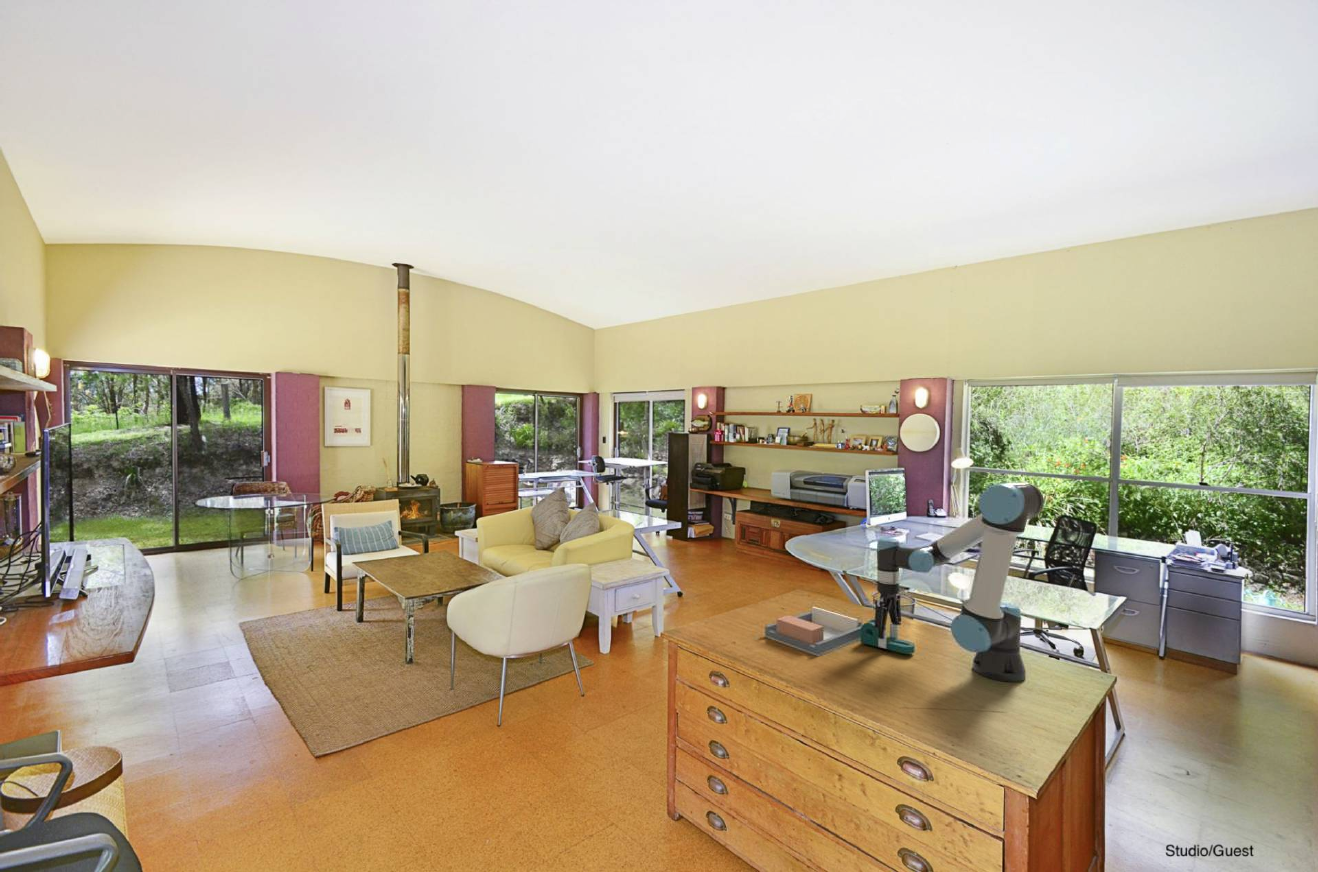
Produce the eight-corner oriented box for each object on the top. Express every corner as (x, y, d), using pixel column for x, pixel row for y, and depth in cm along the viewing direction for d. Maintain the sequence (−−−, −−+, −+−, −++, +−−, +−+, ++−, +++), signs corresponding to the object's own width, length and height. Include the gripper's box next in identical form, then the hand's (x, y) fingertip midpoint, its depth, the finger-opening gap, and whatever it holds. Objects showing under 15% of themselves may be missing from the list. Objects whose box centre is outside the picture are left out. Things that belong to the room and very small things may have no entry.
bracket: (860, 642, 218) (860, 621, 218) (868, 637, 222) (868, 617, 222) (910, 654, 205) (910, 632, 205) (917, 649, 210) (917, 627, 210)
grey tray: (812, 620, 244) (812, 607, 244) (865, 637, 226) (865, 622, 225) (765, 636, 225) (765, 622, 225) (818, 656, 206) (818, 640, 206)
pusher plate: (813, 620, 241) (813, 606, 241) (858, 635, 226) (858, 619, 225) (811, 621, 241) (811, 606, 240) (856, 635, 225) (856, 620, 225)
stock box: (788, 632, 227) (788, 614, 227) (823, 645, 215) (823, 626, 215) (776, 637, 223) (776, 618, 223) (811, 649, 211) (812, 630, 210)
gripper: (892, 575, 223) (892, 635, 223) (863, 584, 210) (863, 648, 210) (911, 579, 217) (911, 641, 217) (883, 588, 205) (883, 654, 205)
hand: (888, 644), depth 214 cm, fingers closed on bracket, 7 cm apart
